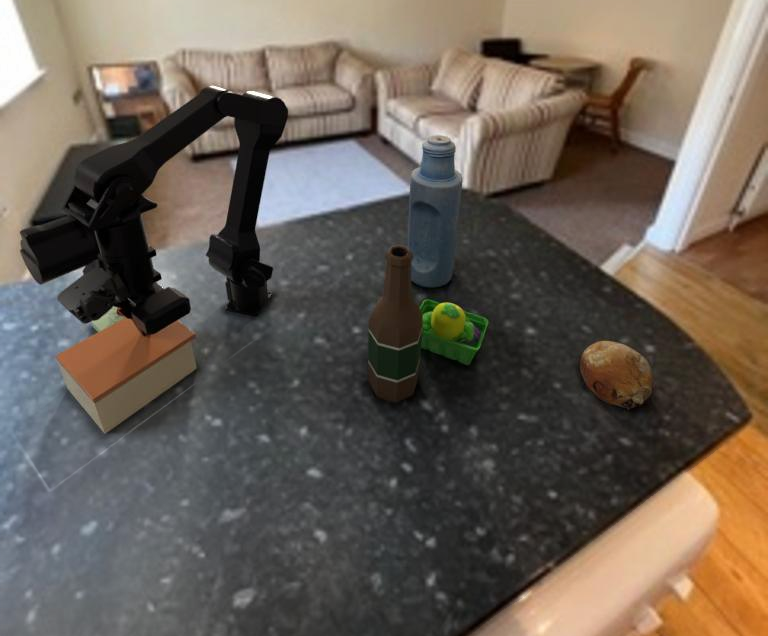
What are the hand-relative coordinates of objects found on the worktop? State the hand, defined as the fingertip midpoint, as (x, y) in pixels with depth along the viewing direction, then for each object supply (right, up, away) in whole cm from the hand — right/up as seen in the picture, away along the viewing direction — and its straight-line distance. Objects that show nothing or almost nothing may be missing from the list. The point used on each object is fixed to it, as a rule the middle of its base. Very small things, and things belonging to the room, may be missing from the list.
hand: (145, 333), depth 67 cm
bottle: (+45, +3, +26) cm, 52 cm away
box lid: (-2, -2, -2) cm, 3 cm away
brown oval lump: (+71, -9, +2) cm, 72 cm away
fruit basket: (+46, -5, +8) cm, 47 cm away
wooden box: (-2, -7, 0) cm, 7 cm away
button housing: (-8, -2, +11) cm, 14 cm away
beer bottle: (+37, -8, +1) cm, 38 cm away
